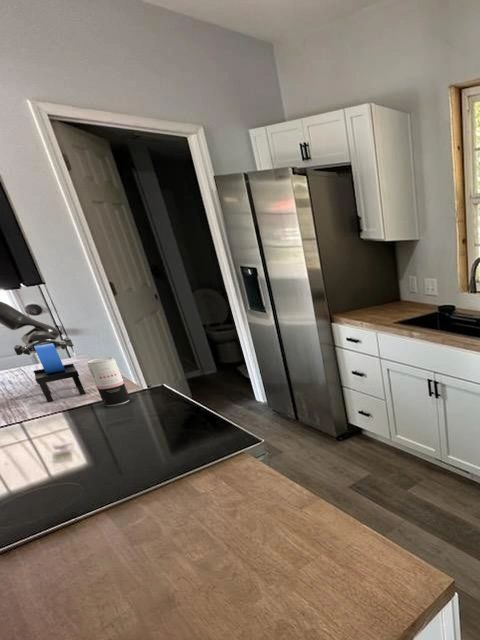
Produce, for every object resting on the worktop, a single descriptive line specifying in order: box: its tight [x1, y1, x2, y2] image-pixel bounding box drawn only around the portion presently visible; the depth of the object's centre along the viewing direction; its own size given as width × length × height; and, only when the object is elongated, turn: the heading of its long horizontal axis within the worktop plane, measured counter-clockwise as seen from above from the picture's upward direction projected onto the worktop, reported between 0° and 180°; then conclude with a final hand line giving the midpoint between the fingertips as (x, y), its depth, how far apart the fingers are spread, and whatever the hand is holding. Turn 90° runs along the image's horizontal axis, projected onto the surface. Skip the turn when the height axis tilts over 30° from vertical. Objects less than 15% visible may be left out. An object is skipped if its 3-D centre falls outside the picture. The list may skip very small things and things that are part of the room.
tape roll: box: [34, 343, 65, 374], centre depth 143 cm, size 5×10×10 cm, turn 50°
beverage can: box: [87, 356, 131, 407], centre depth 135 cm, size 7×7×15 cm
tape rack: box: [33, 363, 87, 403], centre depth 145 cm, size 14×10×9 cm
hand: (45, 349), depth 146 cm, fingers open, 8 cm apart
